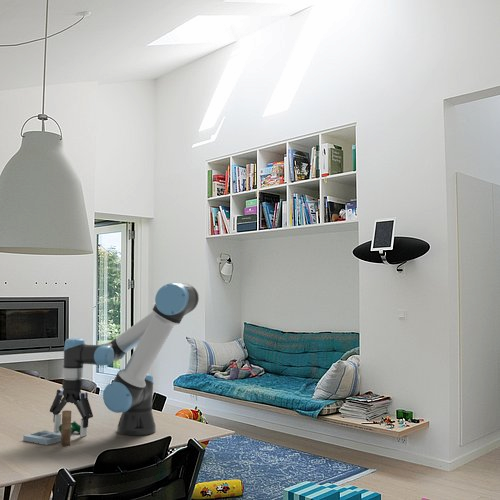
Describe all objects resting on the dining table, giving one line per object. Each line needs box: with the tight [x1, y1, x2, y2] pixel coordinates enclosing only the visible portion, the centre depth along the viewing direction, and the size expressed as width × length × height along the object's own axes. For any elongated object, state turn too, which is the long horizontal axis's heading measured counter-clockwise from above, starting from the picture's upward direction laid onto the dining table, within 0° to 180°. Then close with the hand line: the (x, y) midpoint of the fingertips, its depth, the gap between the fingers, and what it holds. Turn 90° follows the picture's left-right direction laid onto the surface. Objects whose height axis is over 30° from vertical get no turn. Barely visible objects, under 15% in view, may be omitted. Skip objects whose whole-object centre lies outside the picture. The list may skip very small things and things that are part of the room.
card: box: [70, 431, 80, 437], centre depth 240 cm, size 5×10×1 cm, turn 152°
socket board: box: [22, 430, 61, 446], centre depth 230 cm, size 12×10×2 cm
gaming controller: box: [58, 420, 81, 433], centre depth 240 cm, size 9×4×6 cm
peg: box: [60, 410, 72, 447], centre depth 225 cm, size 3×3×12 cm
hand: (70, 433), depth 240 cm, fingers open, 13 cm apart
